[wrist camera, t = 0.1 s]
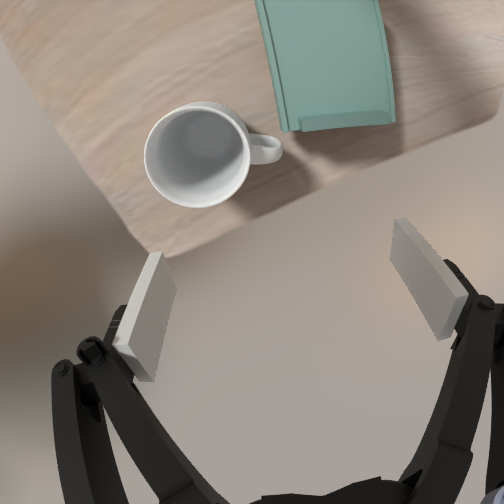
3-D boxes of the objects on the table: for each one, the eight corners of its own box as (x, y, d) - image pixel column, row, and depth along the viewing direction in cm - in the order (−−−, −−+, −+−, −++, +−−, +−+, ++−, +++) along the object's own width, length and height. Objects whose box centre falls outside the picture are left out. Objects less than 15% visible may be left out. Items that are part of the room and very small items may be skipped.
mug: (280, 101, 36) (296, 110, 25) (273, 174, 42) (284, 213, 31) (172, 97, 35) (140, 107, 24) (172, 170, 41) (146, 208, 30)
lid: (254, -1, 25) (255, -13, 21) (366, -4, 24) (382, -13, 19) (280, 128, 35) (286, 136, 31) (385, 118, 34) (403, 125, 30)
